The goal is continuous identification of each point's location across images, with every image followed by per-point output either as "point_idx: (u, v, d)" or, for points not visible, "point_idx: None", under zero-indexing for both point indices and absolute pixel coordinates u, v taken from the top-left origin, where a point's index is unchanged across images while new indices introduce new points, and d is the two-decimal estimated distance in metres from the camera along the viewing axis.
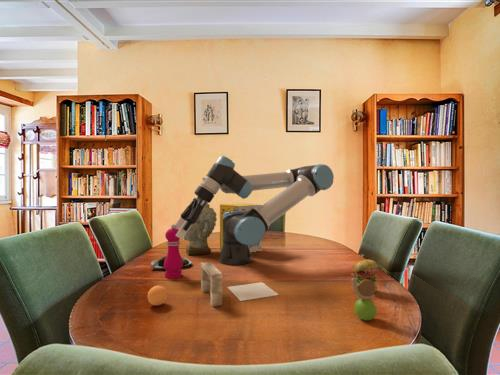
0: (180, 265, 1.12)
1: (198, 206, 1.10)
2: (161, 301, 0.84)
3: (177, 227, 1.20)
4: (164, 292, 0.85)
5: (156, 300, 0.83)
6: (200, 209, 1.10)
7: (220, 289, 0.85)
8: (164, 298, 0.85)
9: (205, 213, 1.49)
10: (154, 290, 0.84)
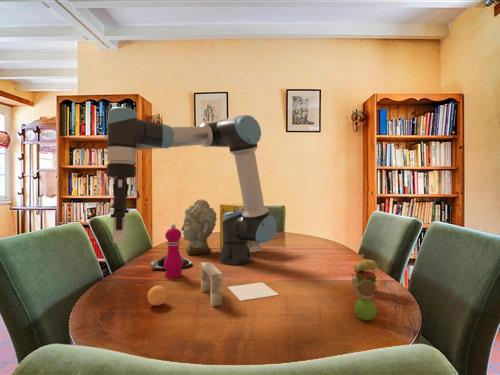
0: (180, 265, 1.12)
1: (117, 191, 0.76)
2: (161, 301, 0.84)
3: None
4: (164, 292, 0.85)
5: (156, 300, 0.83)
6: (122, 193, 0.76)
7: (220, 289, 0.85)
8: (164, 298, 0.85)
9: (205, 213, 1.49)
10: (154, 290, 0.84)
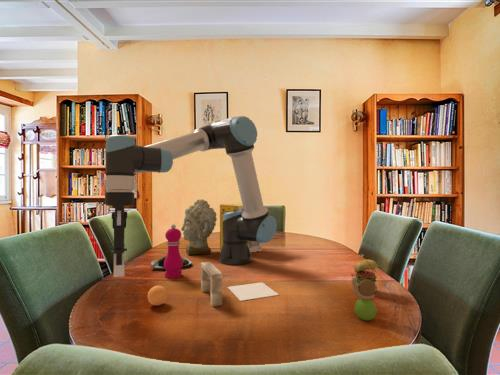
0: (180, 265, 1.12)
1: (116, 230, 0.77)
2: (161, 301, 0.84)
3: None
4: (164, 292, 0.85)
5: (156, 300, 0.83)
6: (121, 232, 0.78)
7: (220, 289, 0.85)
8: (164, 298, 0.85)
9: (205, 213, 1.49)
10: (154, 290, 0.84)
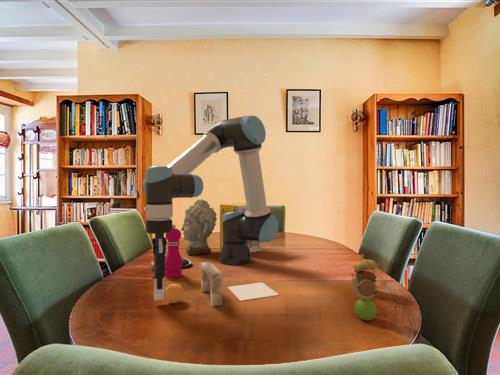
0: (180, 265, 1.12)
1: (158, 257, 0.81)
2: (172, 300, 0.85)
3: None
4: (180, 299, 0.87)
5: (172, 295, 0.85)
6: (162, 259, 0.82)
7: (220, 289, 0.85)
8: (175, 301, 0.86)
9: (205, 213, 1.49)
10: (180, 289, 0.87)
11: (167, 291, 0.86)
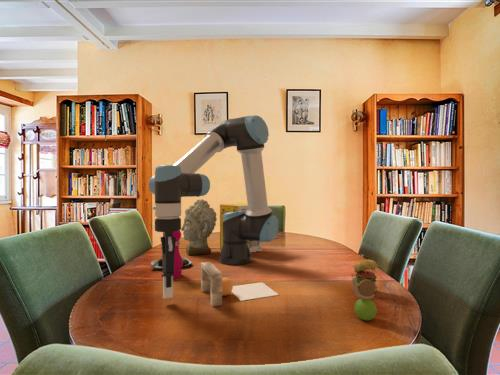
0: (180, 265, 1.12)
1: (167, 255, 0.82)
2: (226, 293, 0.91)
3: None
4: (232, 288, 0.93)
5: (224, 290, 0.91)
6: (172, 257, 0.83)
7: (220, 289, 0.85)
8: (229, 292, 0.92)
9: (205, 213, 1.49)
10: (227, 281, 0.92)
11: None
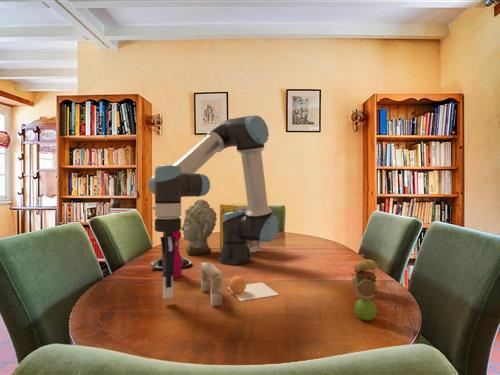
0: (180, 265, 1.12)
1: (167, 255, 0.82)
2: (235, 287, 0.93)
3: None
4: (238, 293, 0.94)
5: (240, 285, 0.93)
6: (172, 257, 0.83)
7: (220, 289, 0.85)
8: (235, 290, 0.93)
9: (205, 213, 1.49)
10: (245, 287, 0.94)
11: (239, 278, 0.94)
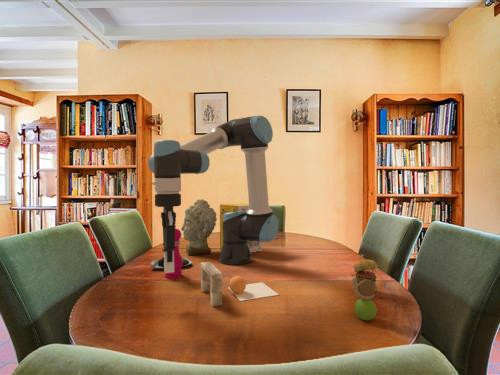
0: (180, 265, 1.12)
1: (168, 230, 0.82)
2: (235, 287, 0.93)
3: None
4: (238, 293, 0.94)
5: (240, 285, 0.93)
6: (172, 231, 0.83)
7: (220, 289, 0.85)
8: (235, 290, 0.93)
9: (205, 213, 1.49)
10: (245, 287, 0.94)
11: (239, 278, 0.94)
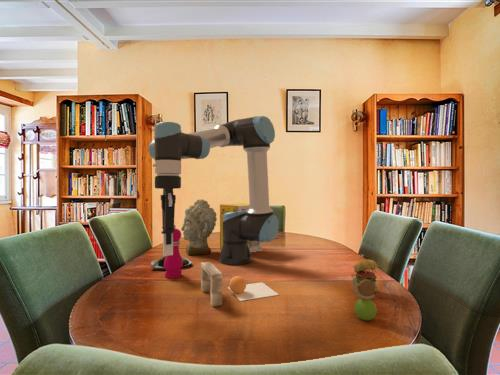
0: (180, 265, 1.12)
1: (167, 211, 0.82)
2: (235, 287, 0.93)
3: None
4: (238, 293, 0.94)
5: (240, 285, 0.93)
6: (172, 213, 0.83)
7: (220, 289, 0.85)
8: (235, 290, 0.93)
9: (205, 213, 1.49)
10: (245, 287, 0.94)
11: (239, 278, 0.94)
